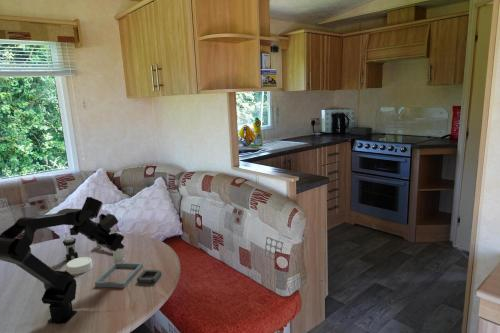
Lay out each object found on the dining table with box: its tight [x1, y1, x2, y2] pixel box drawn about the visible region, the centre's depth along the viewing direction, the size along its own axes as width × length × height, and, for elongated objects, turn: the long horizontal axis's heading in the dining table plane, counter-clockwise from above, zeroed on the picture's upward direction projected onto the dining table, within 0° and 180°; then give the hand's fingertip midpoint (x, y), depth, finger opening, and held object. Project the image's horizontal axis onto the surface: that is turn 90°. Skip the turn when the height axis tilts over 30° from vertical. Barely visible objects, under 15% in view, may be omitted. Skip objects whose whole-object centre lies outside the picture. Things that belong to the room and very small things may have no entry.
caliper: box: [96, 243, 113, 253], centre depth 165 cm, size 20×1×6 cm, turn 54°
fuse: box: [110, 231, 126, 265], centre depth 138 cm, size 4×4×12 cm
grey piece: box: [134, 269, 164, 287], centre depth 137 cm, size 10×8×3 cm
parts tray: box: [94, 262, 144, 289], centre depth 140 cm, size 16×12×2 cm
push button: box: [61, 236, 79, 262], centre depth 158 cm, size 7×5×10 cm
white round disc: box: [65, 256, 93, 276], centre depth 149 cm, size 10×10×4 cm
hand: (120, 246), depth 139 cm, fingers closed on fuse, 4 cm apart
